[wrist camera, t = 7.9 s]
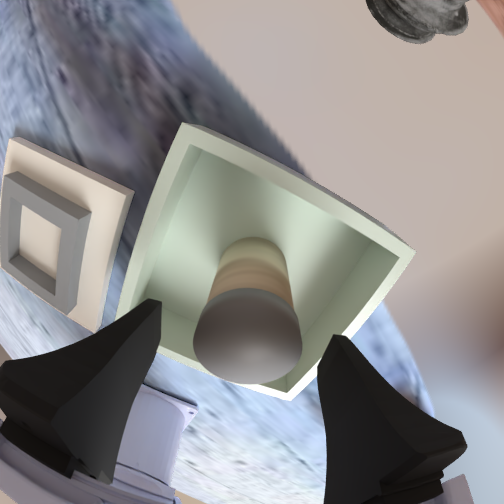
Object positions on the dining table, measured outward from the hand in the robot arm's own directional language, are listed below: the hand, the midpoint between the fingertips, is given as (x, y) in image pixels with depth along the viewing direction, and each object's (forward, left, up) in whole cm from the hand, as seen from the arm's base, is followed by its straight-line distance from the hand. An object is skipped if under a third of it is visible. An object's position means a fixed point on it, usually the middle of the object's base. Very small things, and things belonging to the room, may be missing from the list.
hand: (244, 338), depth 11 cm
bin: (0, 0, -7) cm, 7 cm away
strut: (0, 0, -6) cm, 6 cm away
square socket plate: (-5, +14, -7) cm, 17 cm away
